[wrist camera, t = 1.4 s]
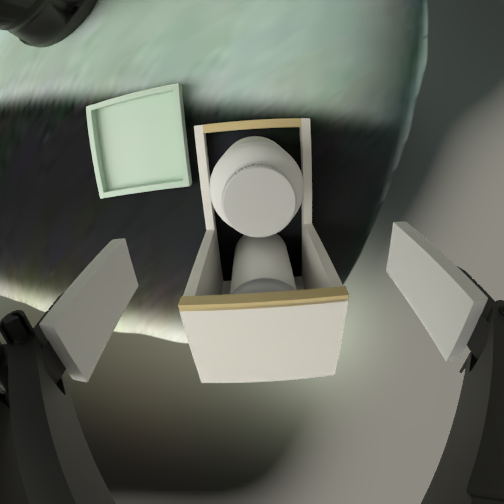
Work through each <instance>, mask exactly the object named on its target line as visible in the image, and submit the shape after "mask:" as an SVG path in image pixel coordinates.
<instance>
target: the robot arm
mask: <svg viewBox="0 0 504 504" xmlns="http://www.w3.org/2000/svg"><path fill="white" fill-rule="evenodd" d="M96 1H97V0H0V29H1V30H8V31H9V32H10V33H12V34H13V35H15V36H17V37H18V38H19V39H20V41H22V42H23V43H24V44H26V45H29V46H35V47H47V46H50V45H53V44H55V43H57V42H59V41H61V40H62V39H64V38H65V37H66V36H68V35H69V34H70V33H71V32H73V31H74V30H75V29H76V28H77V27H78V26H79V25H80V24H81V23H82V22H83V20H84V19H85V18H86V17H87V15H88V14H89V13H90V11H91V10H92V8H93V7H94V5H95V3H96ZM386 272H387V273H388V274H389V276H390V277H391V279H392V280H393V281H394V283H395V284H396V286H397V287H398V288H399V290H400V291H401V292H402V294H403V295H404V297H405V298H406V300H407V301H408V302H409V304H410V305H411V307H412V308H413V310H414V311H415V313H416V314H417V316H418V317H419V319H420V320H421V322H422V323H423V325H424V327H425V328H426V330H427V331H428V333H429V334H430V336H431V338H432V339H433V341H434V342H435V344H436V346H437V347H438V349H439V351H440V352H441V354H442V355H443V357H444V359H445V361H446V362H447V361H450V360H454V359H456V358H460V357H461V355H462V353H463V351H464V350H465V348H466V346H468V347H469V349H470V350H471V352H470V354H469V356H468V357H467V359H466V361H465V363H464V364H463V367H462V368H461V370H460V373H462V371H463V370H464V369H465V368H466V369H465V375H464V380H463V385H462V389H461V394H460V398H459V402H458V406H457V410H456V414H455V417H454V421H453V425H452V428H451V431H450V434H449V437H448V440H447V443H446V447H445V449H444V452H443V454H442V457H441V460H440V462H439V465H438V467H437V470H436V472H435V475H434V477H433V479H432V481H431V484H430V486H429V488H428V490H427V493H426V494H425V496H424V498H423V501H422V503H421V504H504V301H503V300H498V301H496V302H495V301H494V300H493V299H492V298H491V297H490V296H489V295H488V294H487V292H486V291H485V290H484V289H483V288H482V287H481V286H480V285H479V284H477V282H476V281H475V280H474V279H472V278H471V276H470V275H469V274H468V273H467V272H466V271H464V270H463V269H461V268H459V267H458V266H456V265H455V264H454V263H453V262H452V261H451V260H450V259H448V258H447V257H446V256H445V255H444V254H443V253H442V252H441V251H440V250H439V249H437V248H436V247H435V246H434V245H433V244H432V243H431V242H430V241H428V240H427V239H426V238H425V237H424V236H423V235H421V234H420V233H419V232H418V231H417V230H416V229H414V228H413V227H412V226H411V225H409V224H408V223H407V222H393V228H392V236H391V243H390V249H389V256H388V262H387V267H386ZM137 287H138V283H137V280H136V276H135V273H134V270H133V266H132V263H131V259H130V255H129V252H128V248H127V244H126V240H125V239H115V240H112V241H111V242H110V243H109V244H108V245H107V246H106V247H105V248H104V249H103V250H102V251H101V252H100V253H99V254H98V255H97V256H96V257H95V258H94V259H93V261H92V262H91V263H90V264H89V265H88V266H87V267H86V268H85V269H84V270H83V272H82V273H81V274H80V275H79V276H78V277H77V278H76V280H75V281H74V282H73V283H72V284H71V285H70V286H69V288H68V289H67V290H66V291H65V292H64V293H63V294H61V295H60V296H59V297H58V298H57V299H56V301H55V302H54V303H53V305H51V307H50V308H49V311H47V312H46V313H45V315H43V317H42V318H41V319H40V321H39V322H38V323H37V325H36V326H35V327H34V328H32V326H31V325H30V322H29V321H28V319H27V317H26V315H25V313H24V312H23V311H21V310H16V311H13V312H11V313H9V314H7V315H6V316H5V317H4V318H3V319H2V320H1V321H0V332H1V334H2V336H3V337H4V339H5V340H6V342H7V344H1V342H0V386H1V387H2V389H3V390H2V394H1V393H0V504H116V503H115V501H114V500H113V498H112V496H111V494H110V492H109V491H108V489H107V487H106V485H105V483H104V481H103V479H102V477H101V475H100V473H99V471H98V468H97V466H96V464H95V462H94V460H93V457H92V455H91V453H90V450H89V448H88V445H87V443H86V441H85V438H84V435H83V433H82V430H81V427H80V424H79V421H78V419H77V416H76V413H75V410H74V406H73V403H72V400H71V397H70V393H69V390H68V386H67V382H66V380H65V379H64V377H63V376H62V375H63V373H64V371H65V369H66V370H67V372H68V373H69V375H70V376H71V377H72V379H74V380H79V381H84V382H88V380H89V378H90V376H91V374H92V372H93V370H94V368H95V366H96V364H97V361H98V360H99V357H100V356H101V354H102V352H103V350H104V348H105V346H106V344H107V342H108V340H109V338H110V336H111V334H112V332H113V330H114V329H115V327H116V325H117V323H118V321H119V319H120V317H121V316H122V314H123V312H124V310H125V308H126V307H127V305H128V303H129V301H130V299H131V298H132V296H133V294H134V292H135V291H136V289H137Z"/></svg>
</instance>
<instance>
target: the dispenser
mask: <svg viewBox="0 0 504 504" xmlns="http://www.w3.org/2000/svg"><path fill="white" fill-rule="evenodd" d="M277 127H300V149H301V173H302V176H303V181H304V195H303V200H302V271H301V276H298V277H294V276H293V272H292V268H291V264H290V260H289V256H288V252H287V248H286V244H285V242H284V241H283V239H282V238H281V237H280V236H279V235H278V234H274V235H271V236H267V237H260V238H258V237H250V236H247V235H243V236H242V237H241V238H240V239H239V241H238V242H237V244H236V247H235V253H234V262H233V271H232V280H231V281H223V274H222V267H221V260H220V252H219V245H218V237H217V230H216V222H215V214H214V207H213V204H212V202H211V198H210V192H209V184H210V171H209V162H208V152H207V143H206V133H211V132H220V131H231V130H243V129H257V128H277ZM194 132H195V142H196V151H197V160H198V168H199V177H200V185H201V193H202V200H203V208H204V215H205V222H206V229H207V230H206V233H205V236H204V238H203V241H202V244H201V247H200V249H199V252H198V255H197V258H196V260H195V263H194V266H193V269H192V272H191V275H190V277H189V280H188V283H187V286H186V289H185V292H184V295H183V296H181V298H180V301H179V304H178V307H179V310H180V314H181V318H182V321H183V325H184V328H185V332H186V335H187V338H188V342H189V345H190V348H191V352H192V355H193V358H194V361H195V364H196V367H197V370H198V374H199V377H200V380H201V382H202V383H240V382H265V381H281V380H293V379H304V378H313V377H321V376H329V375H335V371H336V366H337V361H338V357H339V351H340V347H341V341H342V336H343V331H344V325H345V319H346V312H347V307H348V300H349V293H348V291H347V289H346V287H345V286H343V285H342V283H341V280H340V278H339V276H338V274H337V272H336V270H335V268H334V266H333V264H332V262H331V260H330V258H329V256H328V254H327V252H326V250H325V248H324V246H323V244H322V242H321V240H320V238H319V236H318V234H317V232H316V230H315V228H314V227H313V225H312V160H311V129H310V118H289V119H263V120H247V121H234V122H223V123H214V124H205V125H198V126H194Z"/></svg>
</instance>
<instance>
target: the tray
mask: <svg viewBox="0 0 504 504" xmlns="http://www.w3.org/2000/svg"><path fill="white" fill-rule="evenodd" d="M86 113H87V123H88V131H89V139H90V146H91V152H92V158H93V164H94V170H95V175H96V181H97V186H98V191H99V195H100V199H101V198H107V197H113V196H119V195H126V194H132V193H139V192H146V191H153V190H161V189H169V188H177V187H186V186H190V185H191V184H192V177H191V169H190V161H189V152H188V144H187V135H186V125H185V115H184V104H183V93H182V84H179V83H176V84H170V85H165V86H160V87H156V88H151V89H147V90H142V91H138V92H134V93H130V94H127V95H123V96H119V97H116V98H112V99H109V100H106V101H102V102H99V103H96V104H93V105H90V106H87V107H86Z"/></svg>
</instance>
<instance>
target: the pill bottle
mask: <svg viewBox="0 0 504 504" xmlns="http://www.w3.org/2000/svg"><path fill="white" fill-rule="evenodd" d="M209 192H210V198H211V202H212V204H213V207H214V209H215V211H216V212H217V214H218V215H219V216H220V217H221V219H222V220H223V221H224V222H226V223H227V224H228V225H229V226H231V227H233V228H234V229H235V230H237V231H238V232H240V233H241V234H244V235H247V236H250V237H258V238H260V237H267V236H271V235H274V234H276V233H277V232H280V231H281V230H283V228H285V227H286V226H287V225H288V224H289V223H290V221H291V220H292V218H293V217H294V216H295V214H296V213H297V211H298V209H299V207H300V205H301V203H302V200H303V195H304V181H303V176H302V173H301V170H300V168H299V166H298V165H297V163H296V162H295V160H294V159H293V158H292V157H291V156H290V155H289V154H288V153H287V152H286V151H285V150H284V149H283V148H281V147H280V146H279V145H278V144H277V143H275V142H274V141H272V140H270V139H268V138H265V137H260V136H251V137H246V138H243V139H240V140H239V141H237V142H235V143H234V144H233V145H232V146H231V147H230V148H229V149H228V150H227V151H226V152H225V153H224V155H223V156H222V157H221V158H220V159H219V161H218V162H217V164H216V165H215V167H214V169H213V172H212V174H211V178H210V184H209Z"/></svg>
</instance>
